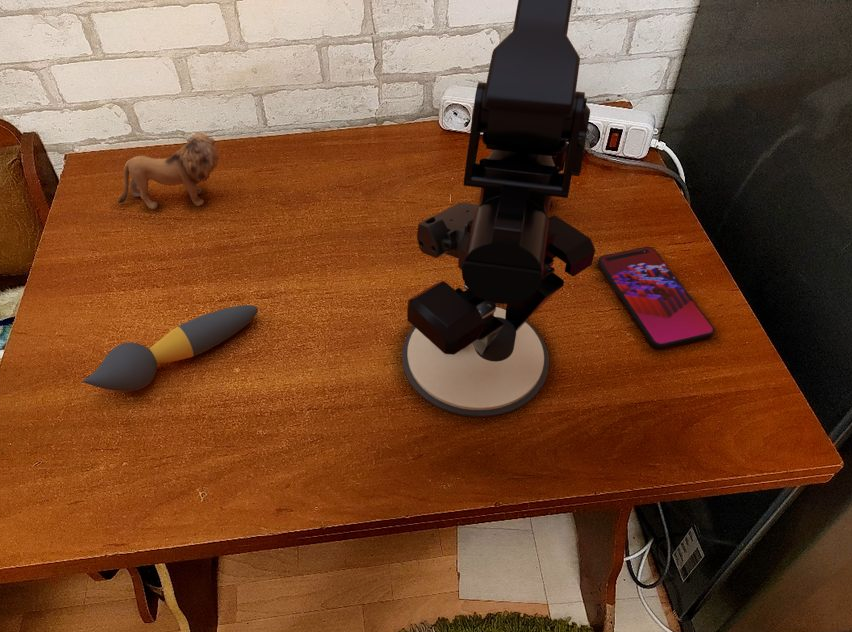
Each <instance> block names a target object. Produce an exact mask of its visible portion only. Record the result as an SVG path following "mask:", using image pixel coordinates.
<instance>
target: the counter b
mask: <svg viewBox="0 0 852 632" xmlns="http://www.w3.org/2000/svg"><path fill="white" fill-rule="evenodd" d="M496 318H497V319H499V320H500V321H501V322H502V323H503V324H504V325H503V327H502V328H501V330H500V331H499V333H498V334H497V336H496V337H495V339H494V341H493V342H492V344H491V345H490V347H489V348H488V349H487V351H486V352H485V353H484V354H480V353H479V352H478V351H477V350H476V349H475V351H476V352H477V354H478V355H479V356H480V357H482V358H483V359H485V360H488V361H493V362H498V361H503V360H505V359H507V358H508V357H510V356H511V354H512V353H513V350H514V344H515V338H516V329H515V327H514V325H513V324H512V323H511V322H509V321H508V320H506V319H504V318H500V317H496Z"/></svg>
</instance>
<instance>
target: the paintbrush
mask: <svg viewBox="0 0 852 632" xmlns="http://www.w3.org/2000/svg"><path fill="white" fill-rule="evenodd" d="M258 312H259V308H258V307H257V306H256V305H253V304H251V305H250V304H243V305H236V306H231V307H226V308H221V309H218V310H215V311H212V312H209V313H206V314H203V315H200V316H198V317H195V318H193V319H190V320H188V321H185V322H184V323H181V324H179V325H178V326H176V327H174V328H173V329H172V330H170V331H169V332H168V333H166V334H165V335H164V336H162V337H161V338H160V339H159V340H158V341H156V342H155V343H154V344H153V345H152V346H150V347H149V348H148V347H147V346H145V345H143V344H141V343H138V342H124V343H121V344H117V345H116V346H115V347H114V348H112V349H111V350H110V351H109V352H108V354H107V355H106V356H105V357H104V358H103V360H102V361H101V362H100V363H99V365H98V367H97V368H96V369H95V370H94V371H93V372H92V373H91V374H90V375H89V376H87V377H86V378H84V379H83V380H82V381H81V383H83V384H88V385H89V386H90V385H91V386H93V387H97V388H99V389H104V390H108V391H116V392H135V391H139V390H142V389H143V388H145V387H147V386H148V385H149V384H150V383H151V382H152V381H153V380H154V377H155V376H156V373H157V365H160V364H165V363H171V362H172V363H173V362H178V361H181V360H185V359H191V358H194V357H196V356H198V355H200V354H203V353H205V352H206V351H209V350H211V349H213V348H214V347H216V346H218V345H220V344H221V343H223V342H225V341H227V340H228V339H230V338H232V337H233V336H234V335H235V334H237V333H238V332H240V331H241V330H242V329H244V328H245V327H246V326H247V325H249V323H251V322H252V321H253V320H254V318H255V317H256V316H257V314H258Z"/></svg>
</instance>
